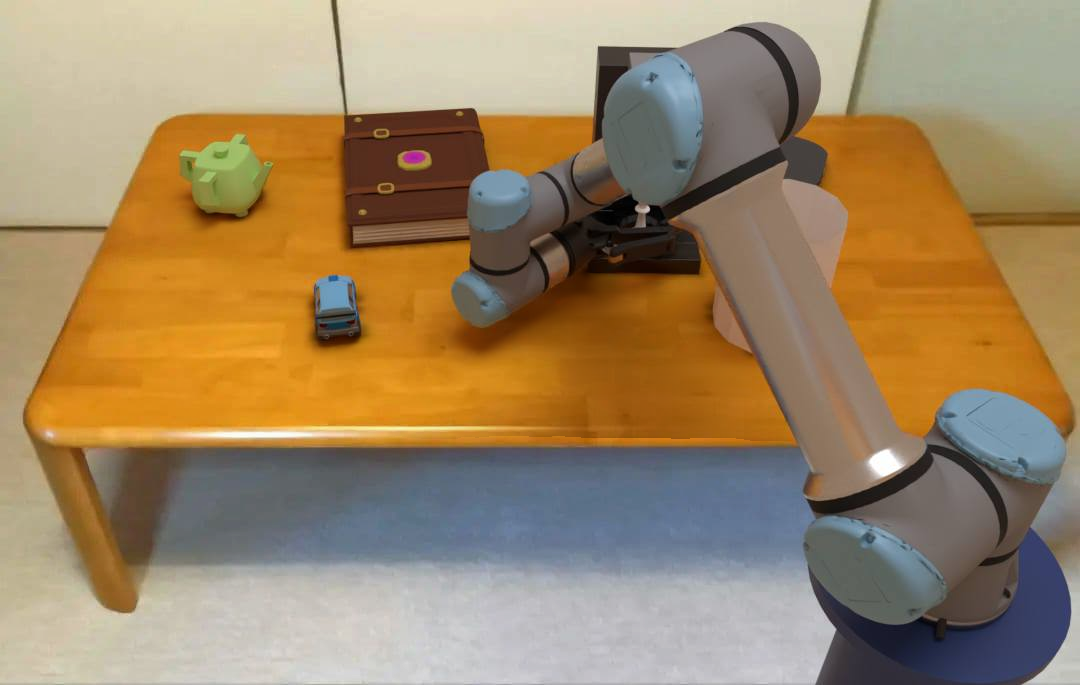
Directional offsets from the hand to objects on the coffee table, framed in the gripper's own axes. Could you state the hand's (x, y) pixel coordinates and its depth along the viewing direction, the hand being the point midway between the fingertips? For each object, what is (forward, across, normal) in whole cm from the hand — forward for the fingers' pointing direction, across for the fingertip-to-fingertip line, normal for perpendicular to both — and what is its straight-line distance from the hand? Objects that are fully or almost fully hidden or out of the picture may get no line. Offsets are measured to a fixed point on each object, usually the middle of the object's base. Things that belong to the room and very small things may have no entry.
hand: (653, 193), depth 148 cm
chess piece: (-2, 0, -8) cm, 8 cm away
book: (-16, -34, -8) cm, 39 cm away
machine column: (+4, -6, -7) cm, 10 cm away
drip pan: (-2, 0, -7) cm, 8 cm away
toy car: (-45, -17, -8) cm, 49 cm away
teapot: (-40, -50, -8) cm, 64 cm away
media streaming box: (+29, +3, -8) cm, 30 cm away
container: (-4, +24, -8) cm, 25 cm away
